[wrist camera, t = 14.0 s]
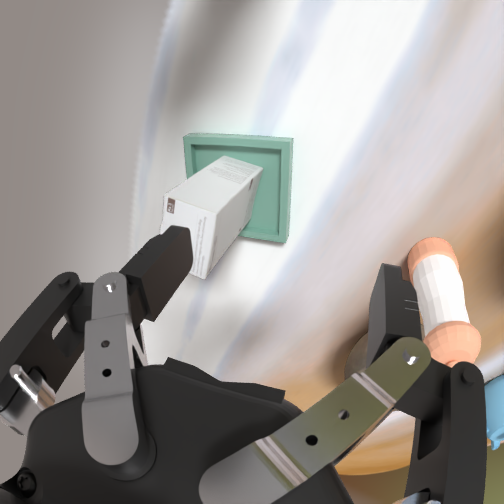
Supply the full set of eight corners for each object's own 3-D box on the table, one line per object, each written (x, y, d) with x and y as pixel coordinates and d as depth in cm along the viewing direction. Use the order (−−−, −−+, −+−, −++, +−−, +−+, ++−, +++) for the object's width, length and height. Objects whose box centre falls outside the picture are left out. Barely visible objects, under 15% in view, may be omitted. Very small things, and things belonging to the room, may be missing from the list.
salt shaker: (451, 277, 39) (477, 385, 24) (407, 281, 42) (415, 392, 27) (455, 235, 36) (494, 341, 21) (406, 239, 39) (424, 349, 24)
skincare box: (251, 218, 43) (207, 285, 32) (212, 204, 44) (157, 264, 33) (265, 163, 38) (219, 216, 27) (221, 150, 39) (159, 196, 27)
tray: (190, 133, 40) (183, 136, 38) (293, 138, 36) (289, 142, 35) (198, 222, 48) (192, 228, 46) (288, 235, 44) (285, 243, 43)
